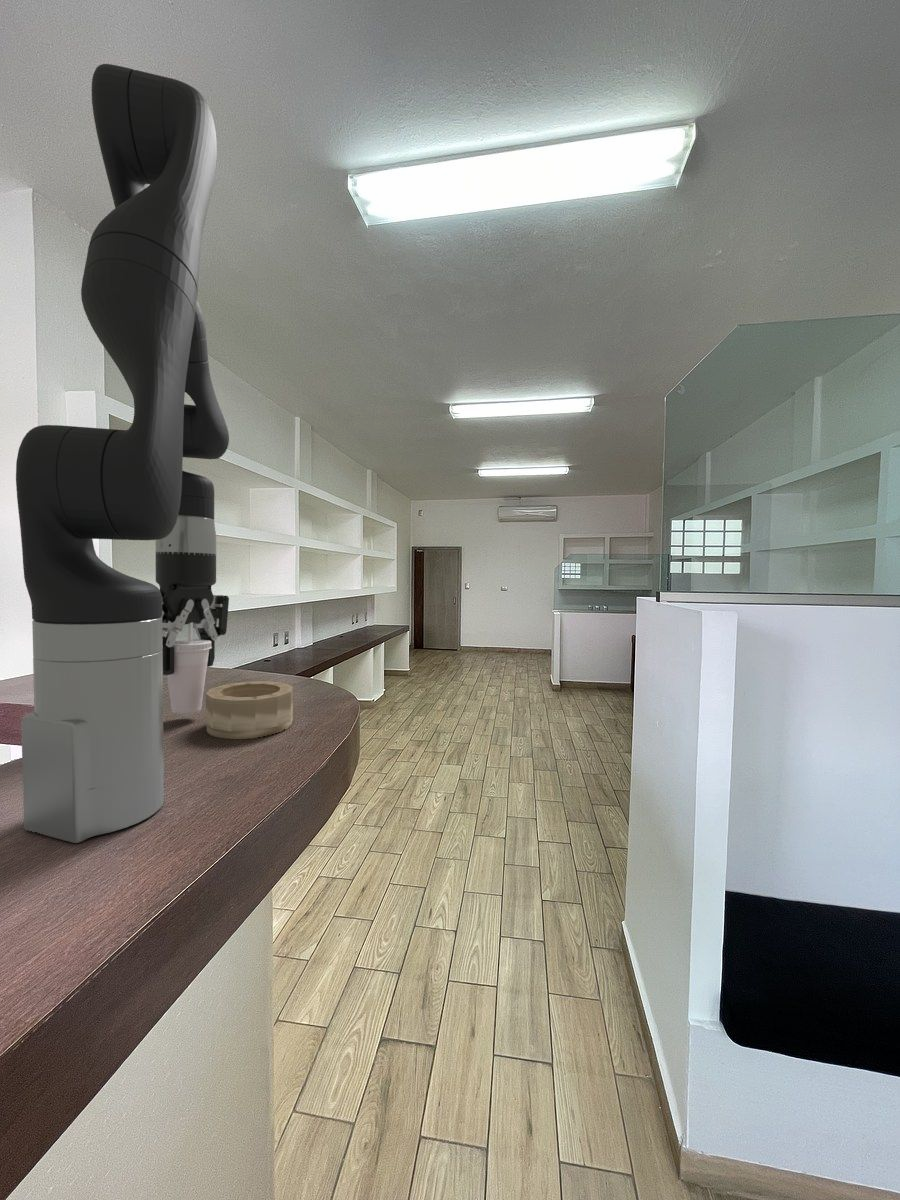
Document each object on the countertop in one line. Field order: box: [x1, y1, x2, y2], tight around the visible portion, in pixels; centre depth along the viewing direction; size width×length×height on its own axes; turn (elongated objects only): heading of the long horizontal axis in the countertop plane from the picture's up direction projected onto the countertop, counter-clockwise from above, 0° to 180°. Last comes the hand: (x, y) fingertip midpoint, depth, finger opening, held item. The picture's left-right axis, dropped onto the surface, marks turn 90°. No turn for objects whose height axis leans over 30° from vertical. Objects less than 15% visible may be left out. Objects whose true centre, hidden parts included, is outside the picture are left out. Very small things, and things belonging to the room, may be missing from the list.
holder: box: [205, 680, 294, 740], centre depth 70 cm, size 11×11×5 cm
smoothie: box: [166, 622, 212, 715], centre depth 72 cm, size 6×6×14 cm
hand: (186, 669), depth 72 cm, fingers closed on smoothie, 6 cm apart
